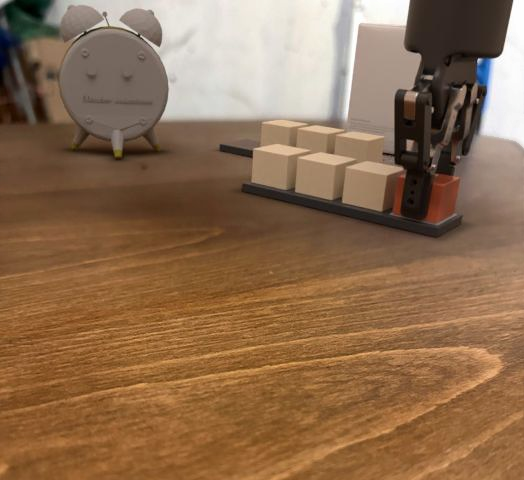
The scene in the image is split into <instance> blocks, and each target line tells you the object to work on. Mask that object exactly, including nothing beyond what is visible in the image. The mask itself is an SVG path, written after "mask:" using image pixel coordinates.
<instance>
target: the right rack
mask: <svg viewBox="0 0 524 480" xmlns="http://www.w3.org/2000/svg"><path fill="white" fill-rule="evenodd" d="M356 162H357V159H354V158H349V157H343V156H338V155H333V154H327V153H322V152H319V153H315V154H311V150H306V149H301V148H296V147H291V146H285V145H280V144H274V145H269V146H264V147H259V148H254V149H253V157H252V163H251V165H252V167H251V180H248V181H245V182H242V184H241V192H245V193H248V194H253V195H256V196H261V197H265V198H270V199H273V200H278V201H282V202H286V203H290V204H294V205H299V206H302V207H307V208H311V209H316V210H319V211H324V212H327V213H328V212H329V213H332V214H337V215H339V216H340V215H341V216H346V217H349V218H353V219H357V220H362V221H366V222H370V223H374V224H378V225H383V226H386V227H391V228H395V229H400V230H403V231H408V232H412V233H417V234H419V235H425V236H429V237H433V238H438V237H440V236H442V235H443V234H445V233H447V232H449V231H450V230H451V231H452V230H453V229H454V228H456V227H457V226H459V225H461V224H462V221H463V216H464V215H463V214H461V213H456V212H454V214H453V215H451V216H449V217H447V218H446V219H444V220H442V221H440V222H438V223H431V222H427V221H422V220H416V219H411V218H407V217H403V216H400V215H396V214H393V207H394V200H395V194H396V187H397V180H398V176H401V175H404V174H406V171H407V170H404V169H403V166H397V165H390V164H386V163H381V164H380V163H375V162H370V161H366V162H362V163H359V164H356Z"/></svg>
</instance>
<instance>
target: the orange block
mask: <svg viewBox="0 0 524 480" xmlns="http://www.w3.org/2000/svg"><path fill="white" fill-rule="evenodd" d="M433 175H435V177H434V183H433V186H432V191H431V197H430V203H429V208H428V214H427V216H426V218H424V219H422V221H427V222H431V223H438V222H440V221H442V220H444V219H446V218H447V217H449V216H451V215H453V214H454V213H455V209H456V204H457V198H458V194H459V189H460V183H461V177H459V176H455V175H454V176H449V175H443V174H438V173H434V174H433ZM405 176H406V174H404V175H401V176H398V180H397V187H396V194H395V200H394V207H393V214H396V215H400V216H402V215H401V213H400V208H401V202H402V195H403V189H404V183H405Z"/></svg>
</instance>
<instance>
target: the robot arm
mask: <svg viewBox="0 0 524 480" xmlns="http://www.w3.org/2000/svg"><path fill="white" fill-rule="evenodd" d="M513 5H514V0H409V3H408V9H407V17H406V24H405V25H406V30H405V37H404V48H405V49H406V50H407V51H408V52H412V53H419V54H420V55H421V61H420V65H419V68H418V71H417V74H416V77H415V81H414V85H413V88H412V89H411V90H405V89H398V90H397V92H396V94H395V98H394V154H393V159H394V161H393V163H394V166H399V167H402V168H403V169H404V170H406V176H405V183H404V189H403V195H402V202H401V208H400V213H401V215H402V216H403V217H407V218H411V219H416V220H422V219H424V218H426V216H427V214H428V208H429V203H430V197H431V191H432V186H433V183H434V177H435V175H433V174H434V173H438V174H443V175H449V176H454V177H455V170H456V167H458V166H459V165H460V163H461V161H462V157H466V156H468V154H469V153H470V150H471V146H472V142H473V138H474V135H475V133H476V129H477V126H478V122H479V119H480V116H481V113H482V110H483V107H484V102H485V99H486V96H487V94H488V86H487V85H485V84H478V83H477V79H478V62H479V61H478V60H480V59H481V60H493V59H497V58H499V57H501V56H502V54H503V52H504V49H505V44H506V39H507V34H508V29H509V24H510V19H511V14H512V10H513ZM407 140H408V145H407ZM417 150H418V152H417Z"/></svg>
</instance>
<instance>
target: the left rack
mask: <svg viewBox="0 0 524 480" xmlns="http://www.w3.org/2000/svg"><path fill="white" fill-rule="evenodd" d="M384 139H385V137H384V136H378V135H372V134H366V133H360V132H354V131H353V132H348V133H346V129H341V128H336V127H330V126H329V127H328V126H322V125H318V124H315V125H310V126H309V124H308V123H307V122H306V123H305V122H301V121H300V122H299V121H292V120H288V119H287V120H286V119H274V120H268V121H262V122H261V130H260V140H255V139H250V138H244V139H240V140H234V141H228V142H223V143H222V142H221V143H219V151H220V152H226V153H229V154H233V155H234V154H235V155H240V156H244V157H248V158H249V157H250V158H253V149H254V148H259V147H264V146H269V145H274V144H280V145H285V146H291V147H296V148H301V149H306V150H311V154H315V153H319V152H322V153H327V154H333V155H338V156H343V157H349V158H354V159H357V162H356V164H359V163H362V162H366V161H370V162H375V163H380V164H382V161H383V154H384V153H383V146H384Z"/></svg>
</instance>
